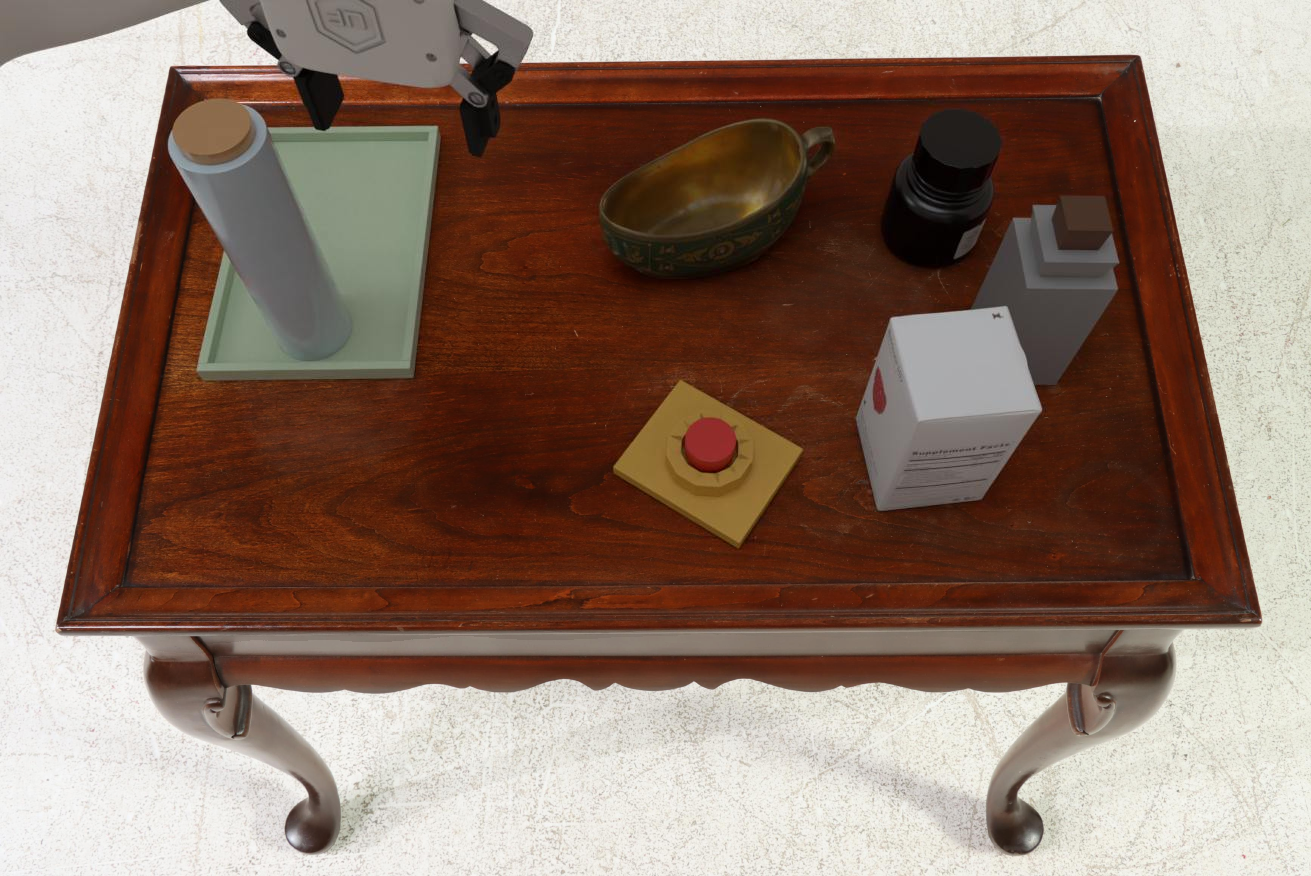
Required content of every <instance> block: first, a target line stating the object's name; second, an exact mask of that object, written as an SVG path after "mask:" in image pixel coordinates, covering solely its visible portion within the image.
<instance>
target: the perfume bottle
mask: <svg viewBox="0 0 1311 876" xmlns="http://www.w3.org/2000/svg"><path fill="white" fill-rule="evenodd" d="M1113 232H1114V227H1113V223H1112V219H1111V215H1110V211H1109V207H1108V203H1107V199H1106V196H1105V195H1059V197H1058V200H1057V203H1056V204H1032V207H1031V217H1013V218H1012V219H1011V222H1010V224H1009V226H1008V228H1007V229H1006V232H1005V235H1004V236H1003V239H1002V241H1001V243H1000V245H999V247H998V250H997V252H996V254H995V255H994V256H995V257H994V258H993V260H992V263H991V264H990V266H989V269H988V272H987V273H986V276H985V278H984V280H983V282H982V284H981V287H980V288H979V291H978V293H977V295H976V297H975V299H974V301H973V303H972V306H971V308H970V310H975V309H985V308H994V307H1002V306H1007V307H1008V309H1009V312H1010V315H1011V318H1012V321H1013V324H1014V327H1015V330H1016V333H1017V336H1018V339H1019V342H1020V345H1021V347H1022V349H1023V351H1024V353H1025V356H1026V359H1027V365H1028V369H1029V372H1030V375H1031V378H1032V380H1033V383H1034V386H1056V385H1057V383H1058V382H1059V380H1061V378H1062V376H1063V375H1064V373H1065V371H1066V370H1067V368H1068V367H1069V365H1070V364H1071V363H1072V361H1073V359H1074V358H1075V356H1076V355H1077V353H1078V351H1079V350H1080V349H1081V348H1082V346H1083V344H1084V342H1085V341H1086V340H1087V338H1088V336H1089V335H1090V334H1091V332H1092V330H1093V328H1094V327H1095V326H1096V324H1097V323H1098V321H1099V320H1100V318H1101V317H1102V315H1103V313H1105V310H1106V309H1107V307H1108V306H1109V304H1110V303H1111V301H1112V300H1113V298H1114V297H1115V295H1116V294H1117V292H1118V290H1119V287H1118V284H1117V279H1116V275H1115V271H1114V268H1115V267H1116V266H1117V265H1119V264H1120V260H1119V257H1118V252H1117V249H1116V245H1115V241H1114V237H1113Z"/></svg>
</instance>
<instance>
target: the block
mask: <svg viewBox="0 0 1311 876" xmlns="http://www.w3.org/2000/svg"><path fill="white" fill-rule="evenodd" d="M708 417H712V418H718V419H721V420H723V421H725V422H726V423H728V424H729V425H730V426H731V428H732V429H733V431H734V433H735V435H736V446H735V453H734V457H733V459H732V461H731V462H730V463H729V464H728V465H727V466H726V467H725V468H723V469H721V470H718V471H713V472H708V471H702V470H700V469H697V468H696V467H694V466H693V465H692V464H691V463H690V462H689V461H688V459H687V457H686V455H685V435H686V432H687V430H688V428H689V427H690V426H691V425H692V424H693V423H694V422H696V421H697V420H699V419H702V418H708ZM803 453H804V449H803V448H802V447H800V446H799V445H797V444H795V443H793V442H792V441H790V440H788V439H786V438H784V437H783V436H781V435H779V434H777V433H776V432H774V431H772V430H770V429H768V427H766V426H764V425H761V424H760V423H758V422H756V421H755V420H753V419H751V418H749V417H748V416H745V414H742V413H741V412H739V411H737V410H735V409H733V408H731V407H729V406H728V405H726V404H724V403H722V402H720V401H719V400H718V399H716V398H714V397H712V396H710V395H708V394H707V393H705V392H703V391H702V390H700V389H697V387H695V386H692V385H691V384H689V383H687V382H685V381H684V380H682V379H679V381H677V383H676V384H675V386H674V388H673V389H672V390H671V391H670V392H669V394H668V395H667V396H666V398H665V399H663V401H662V403H661V404H660V405H659V406H658V408H657V409H656V410H655V412H654V413H653V414H652V415H651V417H650V418H649V419H648V421H647V422H646V423H645V425H644V426H643V427H642V429H641V430H640V431H639V432H638V434H637V435H636V436H635V438H633V441H631V443H630V444H629V445H628V447H627V448H626V449H625V451H624V452H623V453H622V455H621V456H620V457H619V458H618V460H617V461H616V462H615V464H614V465H613V466H612V469H613V474H614V475H616V476H617V477H619V478H620V479H622V480H624V481H626V482H627V483H629V484H631V485H632V486H633V487H636V489H638V490H641V491H642V492H644V493H646V494H647V495H648V496H651V497H652V498H654V499H656V500H657V501H659V502H660V503H662V504H663V505H665V506H666V507H668V508H670V509H672V510H673V511H675V512H677V513H678V514H680V515H682V516H683V517H685V518H687V519H688V520H690V521H691V522H693V523H695V524H696V525H698V526H700V527H702V529H703V528H704V529H705V530H707V531H708V532H710V533H711V534H713V535H715V536H716V537H718V538H720V539H721V540H723V541H725V542H726V543H728V544H729V545H731V546H733V547H734V548H736V549H740V548H741V546H742V545H743V543H744V542H745V541H746V539H747V538H748V536H749V534H750V533H751V532H752V530H753V528H754V527H755V526H756V524H757V523H758V521H759V520H760V518H761V517H762V515H763V514H764V512H765V511H766V510H767V508H768V507H769V505H770V504H771V502H772V501H773V499H774V498H775V496H776V495H777V493H778V492H779V490H780V489H781V487H782V486H783V485H784V483H785V482H786V480H787V478H788V477H789V475H790V474H791V472H792V471H793V469H794V468H795V467H796V465H797V463H798V462H799V461H800V459H801V458H802V456H803Z"/></svg>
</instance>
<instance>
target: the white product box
mask: <svg viewBox="0 0 1311 876" xmlns="http://www.w3.org/2000/svg"><path fill="white" fill-rule="evenodd" d="M877 353H878V354H877V356H876V359H875V362H874V365H873V367H872V371H871V374H870V376H869V379H868V382H867V385H866V388H865V391H864V394H863V396H862V399H861V402H860V405H859V408H858V411H857V413H856V416H855V422H856V426H857V431H858V435H859V439H860V443H861V448H862V453H863V455H864V456H863V457H864V460H865V465H866V470H867V473H868V477H869V482H870V486H871V490H872V495H873V499H874V503H875V508H876V510H877V511H879V512H885V511H894V510H904V509H913V508H920V507H930V506H938V505H939V506H940V505H947V504H954V503H955V504H956V503H965V502H973V501H981V500H982V499H984V496H985V495H986V494H987V492H988V491H989V489H990V488H991V486H992V485H993V483H994V482H995V480H996V479H997V477H998V476H999V474H1000V473H1001V471H1002V469H1004V467H1005V466H1006V464H1007V462H1008V461H1009V459H1010V458H1011V457H1012V455H1013V453H1014V452H1015V451H1016V450H1017V447H1018V446H1019V444H1020V443H1021V441H1022V440H1023V438H1024V437H1025V436H1026V435H1027V433H1028V431H1029V430H1030V428H1031V427H1032V425H1033V424H1034V422H1035V421H1036V420H1037V418H1038V417H1039V415H1040V414H1041V413H1042V412H1043V407H1042V404H1041V401H1040V399H1039V396H1038V392H1037V390H1036V387H1035V386H1036V385H1034V383H1033V380H1032V378H1031V375H1030V372H1029V369H1028V365H1027V359H1026V356H1025V353H1024V351H1023V349H1022V347H1021V345H1020V342H1019V339H1018V336H1017V333H1016V330H1015V327H1014V324H1013V321H1012V318H1011V315H1010V312H1009V309H1008V307H1007V306H1002V307H994V308H985V309H975V310H971V309H967V310H966V309H965V310H956V311H945V312H933V313H932V312H931V313H919V314H918V313H917V314H909V315H901V316H892V317H890V319H889V322H888V324H887V328H886V330H885V333H884V337H883V339H882V341H881V344H880V347H879V350H878V352H877Z"/></svg>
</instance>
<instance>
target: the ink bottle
mask: <svg viewBox="0 0 1311 876" xmlns="http://www.w3.org/2000/svg"><path fill="white" fill-rule="evenodd" d="M1002 146H1003V140H1002V137H1001V134H1000V130H999V128H997V127H996V125H994V123H993V122H992V120H990V119H989V118H987V117H985V116H983V115H981V114H980V113H979V112H976V111H973V110H968V109H964V108H945V109H942V110H940V111H938V112H935V113H931V115H930V116H929V117H928V118H927V119H925V120H924V121H923V122H922V123H921V128H920V131H919V134H918V138H917V141H916V144H915V146H914V147H915V148H914V150H913V152H910V154H908V155H907V156H905V158H904V159H902V160H901V161H900V163H898V166H897V167H896V169H895V171H894V174H893V177H892V180H891V184H890V187H889V191H888V195H887V197H886V201H885V203H884V204H885V205H884V208H883V211H882V215H881V219H880V225H881V226H880V228H881V233H882V237H883V238H884V239H883V240H884V241H885V243H886V245H887V246H888V247H889V249H890V251H892V252H893V254H895V255H896V256H898V257H899V258H901V259H903V260H905V261H906V262H908V263H911V264H914V265H919V266H923V267H945V266H949V265H953V264H956V263H958V262H960V261H962V260H963V259H965V258H966V257H967V256H968V255H969V254H970V253H971V252H972V250H973V248H974V247H975V245H976V243H977V241H978V238H979V236H980V233H981V232H982V229H983V227H984V225H985V223H986V220H987V218H988V216H989V212H990V210H991V208H992V205H993V203H994V197H995V185H994V181H993V178H992V173H993V171H994V168H995V166H996V164H997V161H998V159H999V157H1000V155H1001V148H1002Z"/></svg>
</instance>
